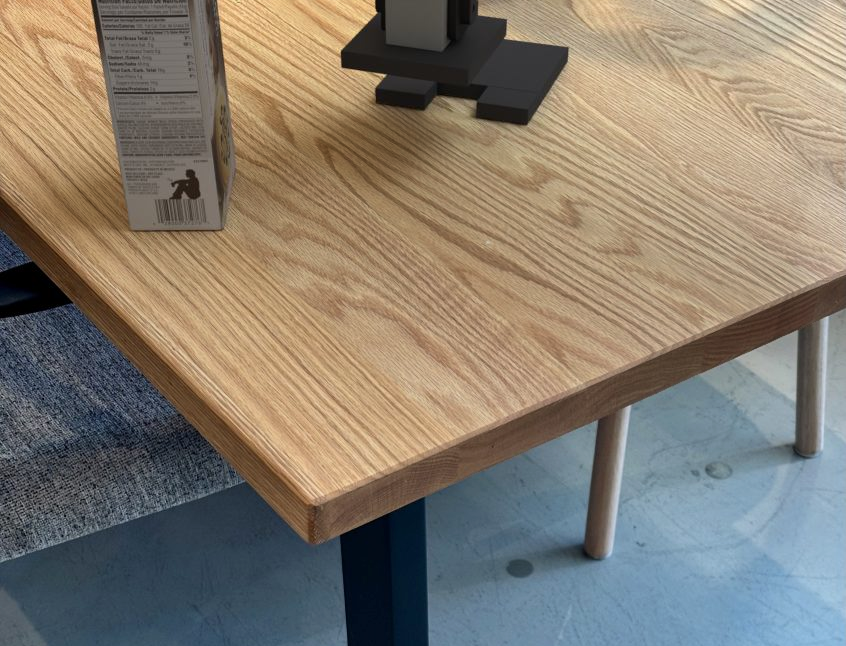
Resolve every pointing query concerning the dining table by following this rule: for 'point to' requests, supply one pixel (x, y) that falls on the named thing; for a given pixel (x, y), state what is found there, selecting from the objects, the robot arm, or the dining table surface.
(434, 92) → the base pad
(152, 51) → the coffee box
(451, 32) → the robot arm
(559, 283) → the dining table surface
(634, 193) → the dining table surface
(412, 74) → the grey post on plate
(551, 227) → the dining table surface
